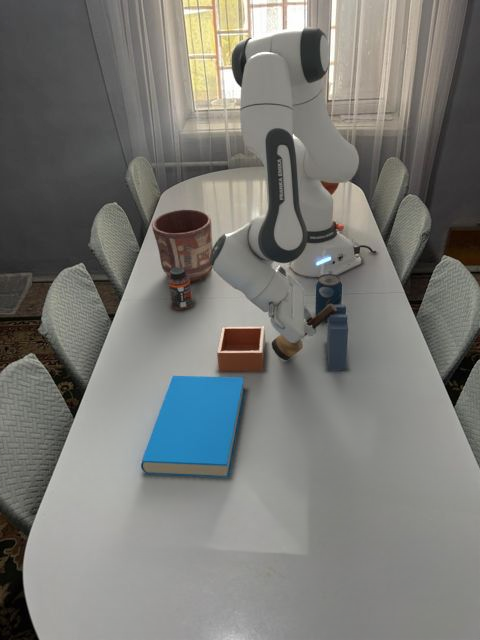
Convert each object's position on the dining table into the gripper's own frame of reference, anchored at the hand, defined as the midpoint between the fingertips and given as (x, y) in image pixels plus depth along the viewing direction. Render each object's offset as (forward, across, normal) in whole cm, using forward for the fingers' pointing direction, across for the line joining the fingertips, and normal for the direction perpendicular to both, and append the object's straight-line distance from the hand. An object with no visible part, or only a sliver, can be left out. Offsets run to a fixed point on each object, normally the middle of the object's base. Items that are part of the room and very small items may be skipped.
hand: (313, 327), depth 120 cm
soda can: (+10, +17, +3) cm, 20 cm away
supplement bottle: (-20, +24, +32) cm, 45 cm away
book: (-11, -24, +24) cm, 36 cm away
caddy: (-6, 0, +19) cm, 20 cm away
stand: (+10, 0, +2) cm, 10 cm away
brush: (+5, 0, +8) cm, 9 cm away
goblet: (+8, +85, +5) cm, 85 cm away
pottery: (-20, +42, +33) cm, 57 cm away
